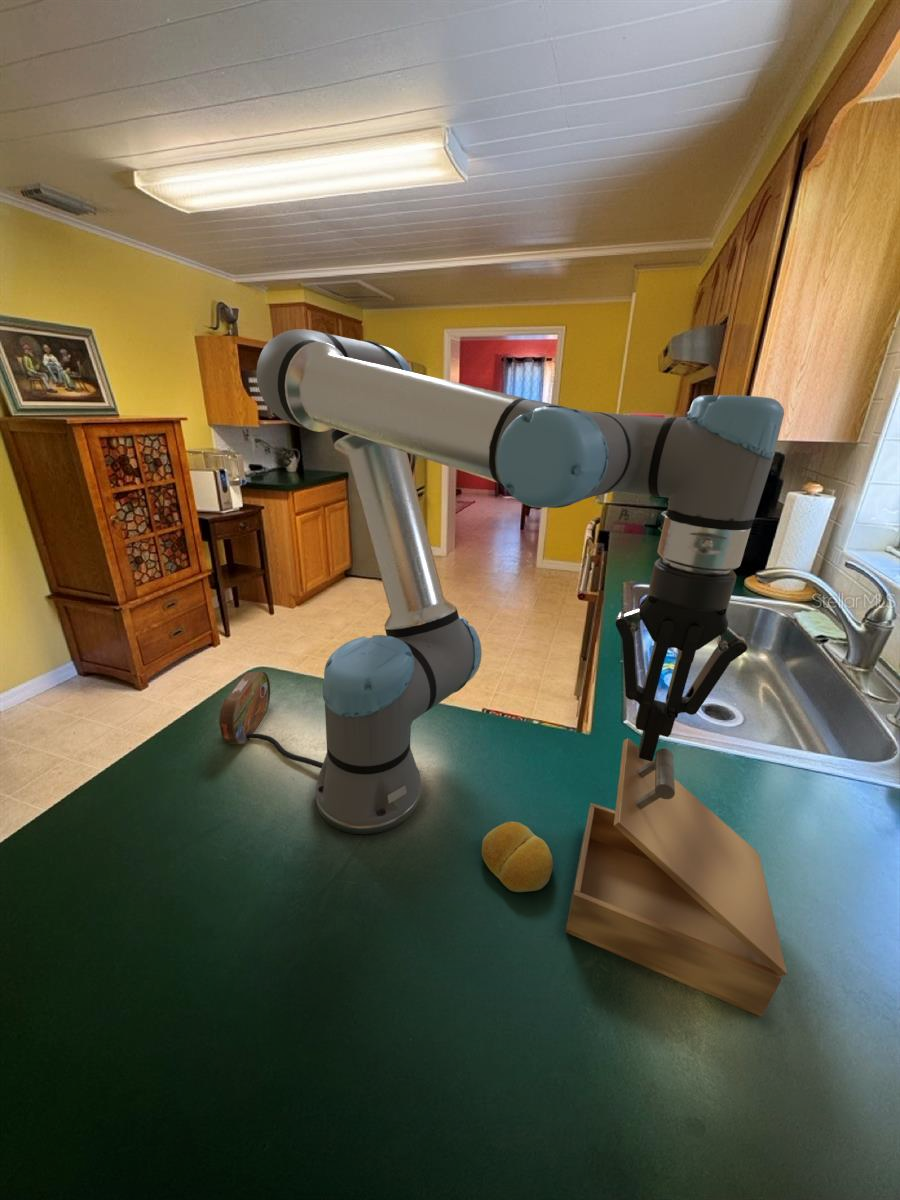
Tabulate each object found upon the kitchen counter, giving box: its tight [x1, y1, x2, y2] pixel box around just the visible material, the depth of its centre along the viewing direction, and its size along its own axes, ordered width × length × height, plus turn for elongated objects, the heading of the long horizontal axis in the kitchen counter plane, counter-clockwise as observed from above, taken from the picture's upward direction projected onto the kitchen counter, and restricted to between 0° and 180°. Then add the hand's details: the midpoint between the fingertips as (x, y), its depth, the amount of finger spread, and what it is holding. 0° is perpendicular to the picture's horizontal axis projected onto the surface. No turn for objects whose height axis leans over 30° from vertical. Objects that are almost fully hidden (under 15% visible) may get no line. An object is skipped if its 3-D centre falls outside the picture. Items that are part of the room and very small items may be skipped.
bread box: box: [565, 802, 783, 1018], centre depth 54 cm, size 19×14×6 cm
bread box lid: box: [614, 737, 788, 977], centre depth 49 cm, size 20×14×5 cm
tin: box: [218, 670, 271, 745], centre depth 81 cm, size 15×3×8 cm, turn 179°
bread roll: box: [481, 821, 554, 893], centre depth 60 cm, size 8×9×4 cm
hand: (645, 752), depth 56 cm, fingers closed
